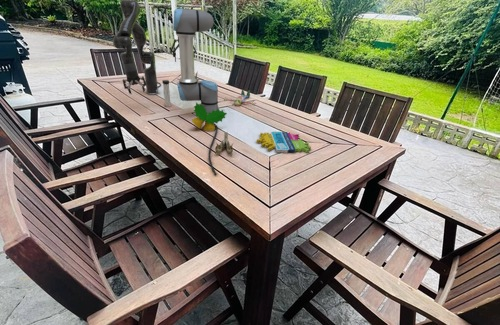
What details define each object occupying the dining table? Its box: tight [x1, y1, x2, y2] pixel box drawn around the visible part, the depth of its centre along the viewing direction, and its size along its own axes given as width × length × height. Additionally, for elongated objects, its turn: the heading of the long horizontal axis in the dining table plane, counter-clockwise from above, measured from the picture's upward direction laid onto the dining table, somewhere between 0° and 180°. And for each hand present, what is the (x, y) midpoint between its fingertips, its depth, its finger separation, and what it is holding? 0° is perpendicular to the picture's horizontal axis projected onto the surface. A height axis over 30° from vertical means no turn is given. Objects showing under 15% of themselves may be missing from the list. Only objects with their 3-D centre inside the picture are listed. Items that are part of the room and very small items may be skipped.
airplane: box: [177, 71, 204, 83], centre depth 255 cm, size 38×32×10 cm
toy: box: [223, 89, 257, 106], centre depth 219 cm, size 28×7×30 cm
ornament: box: [191, 101, 228, 132], centre depth 162 cm, size 21×8×15 cm, turn 105°
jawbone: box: [214, 131, 234, 156], centre depth 136 cm, size 9×15×10 cm
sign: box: [256, 131, 312, 154], centre depth 152 cm, size 26×2×30 cm
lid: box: [161, 79, 170, 85], centre depth 191 cm, size 5×5×2 cm
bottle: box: [162, 83, 172, 107], centre depth 195 cm, size 4×4×18 cm
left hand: (137, 92), depth 182 cm, fingers open, 8 cm apart
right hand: (184, 61), depth 211 cm, fingers open, 13 cm apart
